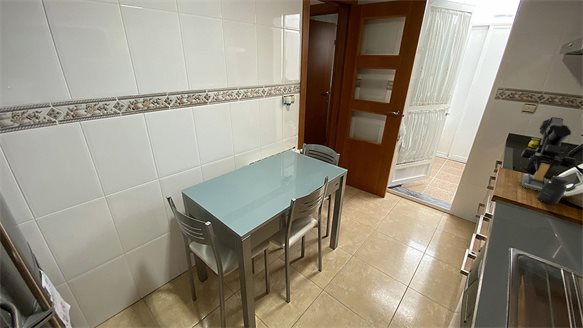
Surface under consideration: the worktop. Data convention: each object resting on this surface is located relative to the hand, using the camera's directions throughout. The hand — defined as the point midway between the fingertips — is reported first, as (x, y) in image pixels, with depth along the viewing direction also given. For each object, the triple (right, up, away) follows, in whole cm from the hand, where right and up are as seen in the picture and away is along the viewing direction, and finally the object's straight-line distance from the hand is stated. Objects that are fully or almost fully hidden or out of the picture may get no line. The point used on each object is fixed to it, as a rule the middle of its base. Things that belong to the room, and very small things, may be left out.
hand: (541, 172), depth 119 cm
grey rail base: (-1, -7, +3) cm, 7 cm away
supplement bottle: (-9, -13, -10) cm, 19 cm away
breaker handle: (+1, -4, +3) cm, 6 cm away
